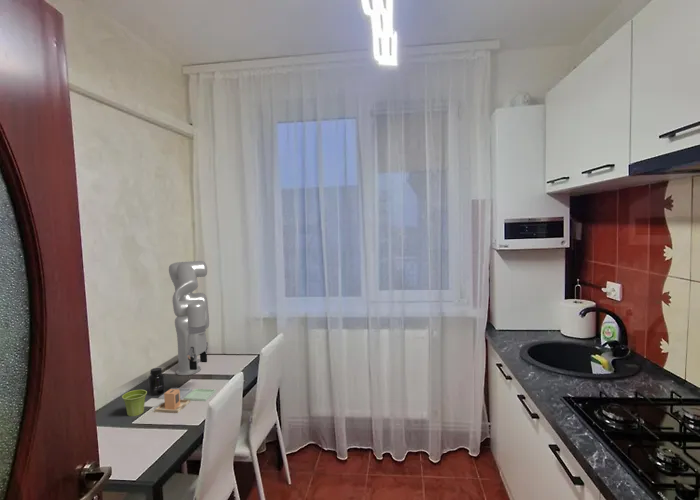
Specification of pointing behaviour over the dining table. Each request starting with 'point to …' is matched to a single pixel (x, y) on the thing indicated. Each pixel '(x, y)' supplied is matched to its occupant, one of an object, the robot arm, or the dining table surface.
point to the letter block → (172, 399)
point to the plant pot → (134, 402)
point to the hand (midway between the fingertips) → (198, 365)
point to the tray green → (200, 394)
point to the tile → (153, 402)
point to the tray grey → (182, 392)
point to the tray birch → (178, 409)
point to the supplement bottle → (156, 382)
